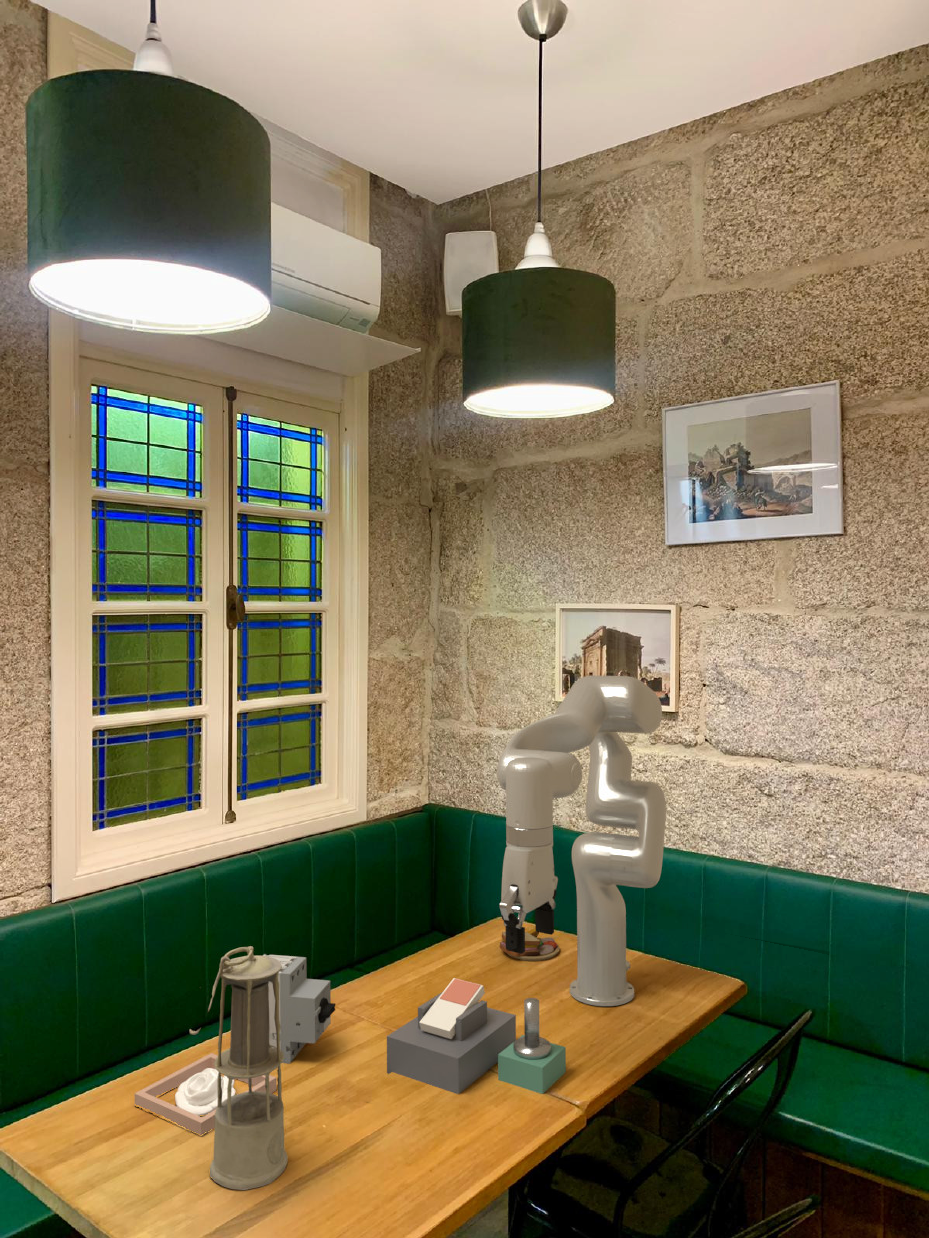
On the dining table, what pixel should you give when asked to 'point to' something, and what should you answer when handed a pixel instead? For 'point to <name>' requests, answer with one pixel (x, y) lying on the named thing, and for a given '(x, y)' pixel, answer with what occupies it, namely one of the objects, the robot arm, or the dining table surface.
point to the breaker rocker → (451, 1007)
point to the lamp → (248, 1077)
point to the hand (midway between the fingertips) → (530, 941)
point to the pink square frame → (169, 1111)
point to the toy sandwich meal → (533, 947)
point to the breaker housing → (451, 1047)
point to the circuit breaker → (298, 1007)
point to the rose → (202, 1092)
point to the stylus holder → (532, 1069)
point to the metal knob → (531, 1034)
